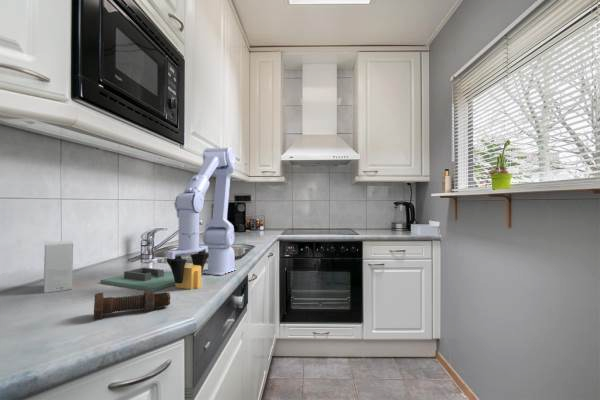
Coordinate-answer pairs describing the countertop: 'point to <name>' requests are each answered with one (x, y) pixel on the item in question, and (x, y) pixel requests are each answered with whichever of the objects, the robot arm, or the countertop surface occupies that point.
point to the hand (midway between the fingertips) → (188, 280)
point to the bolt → (129, 303)
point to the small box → (58, 266)
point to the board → (143, 279)
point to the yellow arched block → (191, 277)
